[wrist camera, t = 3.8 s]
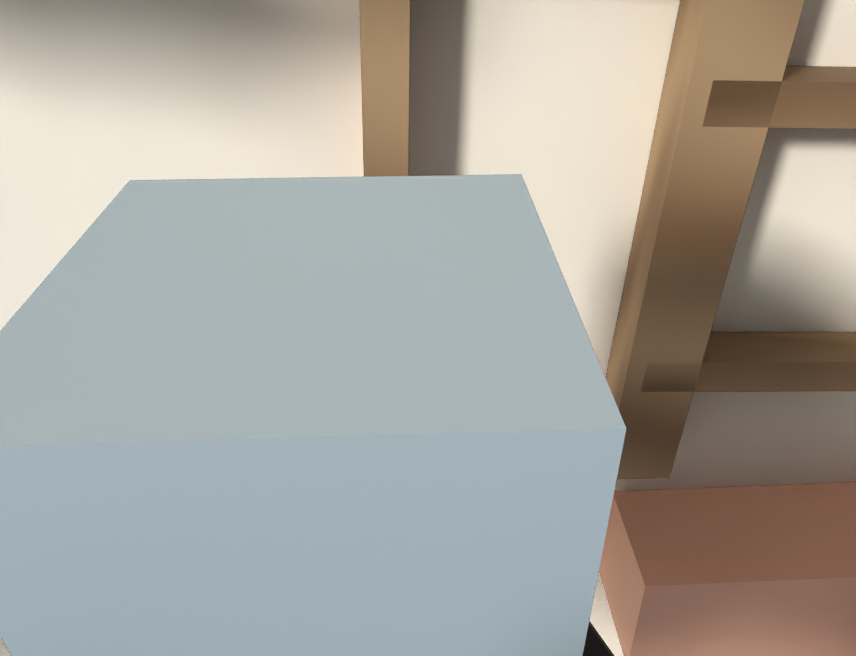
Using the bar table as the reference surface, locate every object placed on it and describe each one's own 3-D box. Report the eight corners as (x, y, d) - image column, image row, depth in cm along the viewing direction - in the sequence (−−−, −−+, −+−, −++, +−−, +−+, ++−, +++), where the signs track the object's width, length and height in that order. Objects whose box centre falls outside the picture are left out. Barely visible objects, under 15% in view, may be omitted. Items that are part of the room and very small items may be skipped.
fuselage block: (864, 554, 27) (963, 697, 22) (597, 565, 26) (640, 712, 22) (900, 475, 24) (1018, 616, 20) (610, 486, 24) (661, 632, 20)
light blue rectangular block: (483, 709, 13) (514, 1010, 9) (258, 717, 13) (208, 1025, 9) (521, 174, 7) (626, 427, 4) (130, 180, 7) (-101, 449, 4)
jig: (1028, 442, 23) (1064, 474, 22) (372, 446, 22) (371, 480, 21) (1360, -84, 15) (1447, -80, 14) (360, -113, 14) (356, -111, 13)
